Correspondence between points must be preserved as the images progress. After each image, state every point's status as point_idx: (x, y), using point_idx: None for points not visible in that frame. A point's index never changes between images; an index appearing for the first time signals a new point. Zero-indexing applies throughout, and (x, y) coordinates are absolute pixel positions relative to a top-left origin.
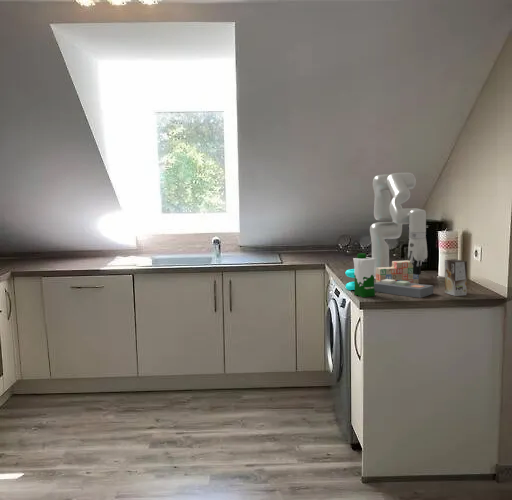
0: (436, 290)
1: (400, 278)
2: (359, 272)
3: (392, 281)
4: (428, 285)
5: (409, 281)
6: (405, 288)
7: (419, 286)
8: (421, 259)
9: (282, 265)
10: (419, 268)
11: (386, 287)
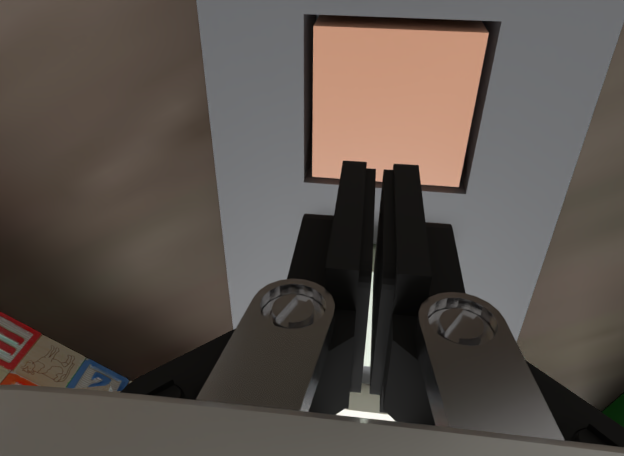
0: (17, 5)
1: None
2: None
3: (364, 404)
4: (230, 4)
5: (9, 347)
6: (559, 191)
7: (403, 72)
8: (496, 439)
9: None
10: (408, 237)
11: None
